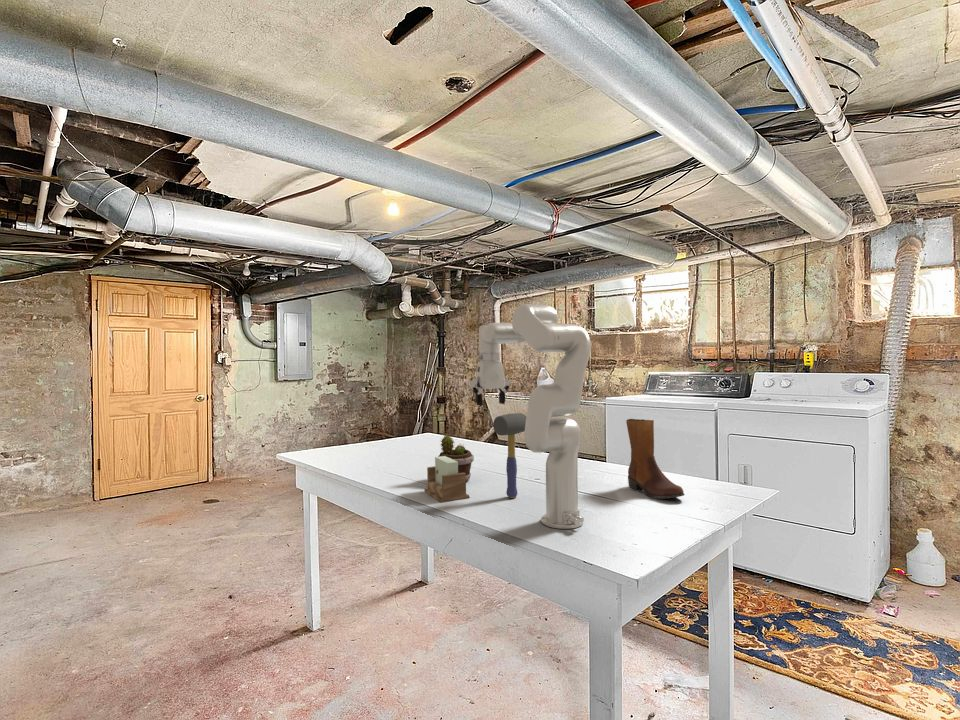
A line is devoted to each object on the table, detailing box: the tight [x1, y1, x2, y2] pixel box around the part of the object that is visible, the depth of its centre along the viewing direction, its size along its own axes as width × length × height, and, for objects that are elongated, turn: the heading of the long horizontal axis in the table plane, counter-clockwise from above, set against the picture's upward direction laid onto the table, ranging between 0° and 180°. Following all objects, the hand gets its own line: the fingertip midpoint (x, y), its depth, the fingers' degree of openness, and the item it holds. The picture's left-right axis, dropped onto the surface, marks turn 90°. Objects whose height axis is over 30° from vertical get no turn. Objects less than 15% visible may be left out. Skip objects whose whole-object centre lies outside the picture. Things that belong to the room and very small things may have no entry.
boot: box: [625, 418, 685, 500], centre depth 182 cm, size 25×9×27 cm, turn 17°
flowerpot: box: [437, 432, 475, 483], centre depth 203 cm, size 14×15×20 cm
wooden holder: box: [424, 465, 470, 503], centre depth 184 cm, size 16×11×9 cm
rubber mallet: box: [492, 412, 527, 499], centre depth 179 cm, size 12×8×30 cm, turn 135°
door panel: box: [434, 456, 458, 486], centre depth 184 cm, size 12×4×12 cm, turn 27°
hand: (490, 404), depth 187 cm, fingers open, 9 cm apart
